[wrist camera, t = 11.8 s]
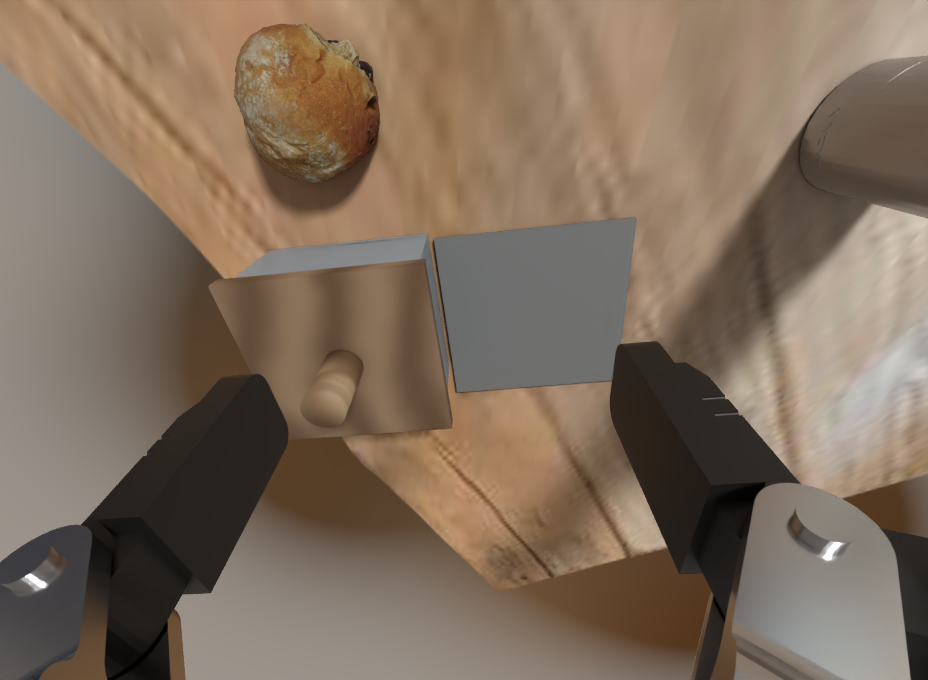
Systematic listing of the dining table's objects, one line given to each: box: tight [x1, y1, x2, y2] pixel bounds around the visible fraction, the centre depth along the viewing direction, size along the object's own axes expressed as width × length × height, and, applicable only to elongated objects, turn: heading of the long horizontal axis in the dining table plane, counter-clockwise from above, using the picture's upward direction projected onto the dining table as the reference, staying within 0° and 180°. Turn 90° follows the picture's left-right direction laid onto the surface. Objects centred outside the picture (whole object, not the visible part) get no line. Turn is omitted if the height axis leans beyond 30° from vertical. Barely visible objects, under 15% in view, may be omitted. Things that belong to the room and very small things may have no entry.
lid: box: [208, 259, 453, 440], centre depth 30 cm, size 16×16×7 cm
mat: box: [434, 217, 636, 392], centre depth 40 cm, size 18×18×1 cm
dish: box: [235, 234, 449, 389], centre depth 36 cm, size 15×15×8 cm
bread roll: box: [234, 23, 380, 183], centre depth 28 cm, size 10×10×8 cm
